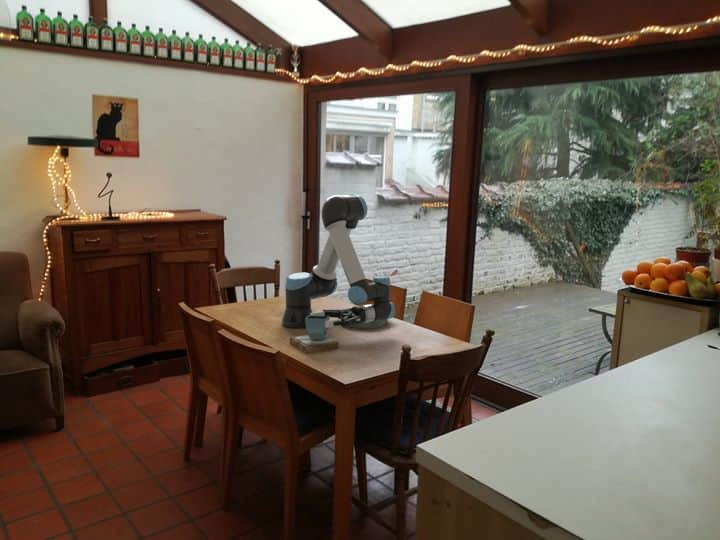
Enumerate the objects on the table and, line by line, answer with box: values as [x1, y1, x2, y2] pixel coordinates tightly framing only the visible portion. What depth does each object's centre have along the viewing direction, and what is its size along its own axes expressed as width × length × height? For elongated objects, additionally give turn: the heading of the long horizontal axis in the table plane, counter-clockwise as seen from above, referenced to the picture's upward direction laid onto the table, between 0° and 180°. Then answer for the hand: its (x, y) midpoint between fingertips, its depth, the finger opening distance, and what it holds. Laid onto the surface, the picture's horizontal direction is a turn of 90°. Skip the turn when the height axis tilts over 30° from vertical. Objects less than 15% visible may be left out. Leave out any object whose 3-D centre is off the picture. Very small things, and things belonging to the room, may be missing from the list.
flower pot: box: [305, 316, 331, 340], centre depth 243 cm, size 9×9×9 cm
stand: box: [289, 334, 339, 354], centre depth 244 cm, size 16×14×3 cm
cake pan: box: [344, 307, 389, 329], centre depth 281 cm, size 25×25×4 cm
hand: (317, 320), depth 243 cm, fingers open, 13 cm apart
